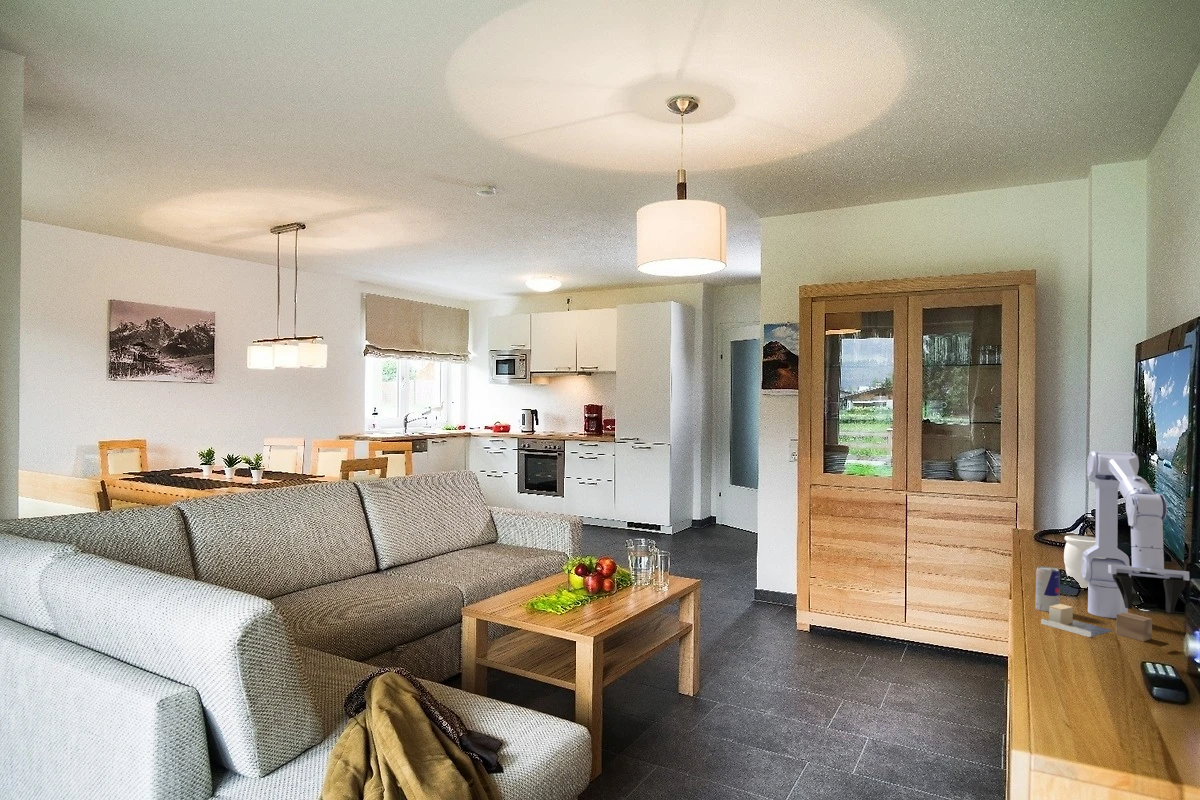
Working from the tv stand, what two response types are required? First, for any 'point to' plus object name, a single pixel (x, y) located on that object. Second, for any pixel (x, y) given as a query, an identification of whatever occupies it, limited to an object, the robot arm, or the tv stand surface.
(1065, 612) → the beige rectangular block
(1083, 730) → the tv stand surface
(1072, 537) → the jar
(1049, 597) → the energy drink
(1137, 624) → the brown thick square block
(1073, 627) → the shelf board
